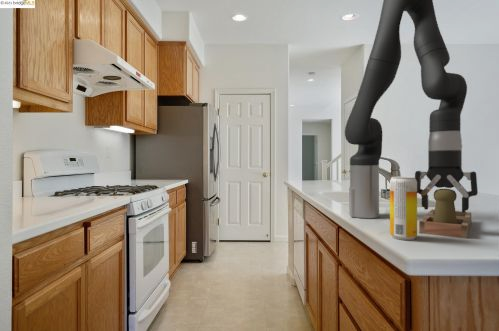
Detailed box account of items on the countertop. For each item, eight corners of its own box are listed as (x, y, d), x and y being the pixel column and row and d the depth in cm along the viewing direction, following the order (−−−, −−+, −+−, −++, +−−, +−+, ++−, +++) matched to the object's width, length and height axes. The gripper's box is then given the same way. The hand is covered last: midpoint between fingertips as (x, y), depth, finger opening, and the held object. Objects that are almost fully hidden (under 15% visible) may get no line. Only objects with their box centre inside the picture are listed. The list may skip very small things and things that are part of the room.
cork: (463, 233, 83) (462, 190, 83) (437, 232, 84) (437, 190, 83) (452, 228, 89) (452, 187, 88) (428, 227, 90) (428, 187, 89)
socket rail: (467, 238, 79) (467, 226, 79) (419, 232, 85) (419, 221, 85) (471, 222, 98) (471, 212, 98) (431, 218, 104) (431, 209, 104)
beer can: (418, 236, 81) (418, 176, 81) (415, 242, 76) (415, 178, 76) (392, 233, 85) (392, 176, 84) (387, 238, 80) (387, 177, 79)
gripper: (412, 149, 87) (412, 210, 87) (477, 148, 78) (477, 215, 79) (417, 150, 93) (417, 206, 93) (478, 148, 85) (477, 210, 85)
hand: (444, 210), depth 86 cm, fingers open, 8 cm apart
